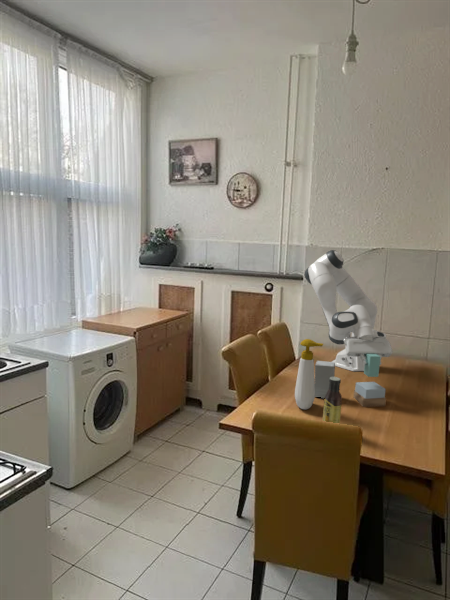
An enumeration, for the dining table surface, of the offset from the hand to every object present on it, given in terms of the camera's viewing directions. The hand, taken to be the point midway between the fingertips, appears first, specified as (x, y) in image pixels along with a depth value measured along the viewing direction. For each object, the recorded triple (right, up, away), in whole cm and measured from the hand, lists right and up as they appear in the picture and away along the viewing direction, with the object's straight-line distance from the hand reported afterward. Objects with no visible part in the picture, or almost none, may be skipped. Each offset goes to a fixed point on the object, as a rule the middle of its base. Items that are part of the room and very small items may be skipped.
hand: (372, 364), depth 188 cm
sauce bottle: (-24, -21, -25) cm, 40 cm away
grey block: (-1, -13, +3) cm, 14 cm away
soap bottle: (-29, -17, -4) cm, 34 cm away
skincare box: (-19, -16, +8) cm, 26 cm away
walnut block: (0, -17, +4) cm, 18 cm away
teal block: (0, -5, +1) cm, 5 cm away
